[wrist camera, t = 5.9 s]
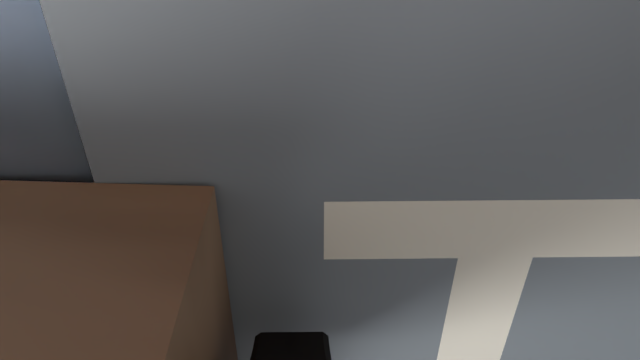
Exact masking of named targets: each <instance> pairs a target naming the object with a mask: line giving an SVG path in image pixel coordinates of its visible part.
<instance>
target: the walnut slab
mask: <svg viewBox="0 0 640 360" xmlns="http://www.w3.org/2000/svg"><path fill="white" fill-rule="evenodd" d="M0 360H238V357H237V350H236V343H235V335H234V328H233V321H232V313H231V306H230V299H229V291H228V284H227V277H226V269H225V262H224V255H223V247H222V240H221V232H220V225H219V218H218V210H217V203H216V196H215V188H214V186H188V185H153V184H117V183H81V182H45V181H9V180H0Z"/></svg>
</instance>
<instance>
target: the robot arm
mask: <svg viewBox="0 0 640 360" xmlns="http://www.w3.org/2000/svg"><path fill="white" fill-rule="evenodd" d="M250 360H331V354H330V347H329V337H328V335H327V334H325V333H324V332H261V333H259V334H258V335H256V336H255V340H254V345H253V350H252V354H251V358H250Z"/></svg>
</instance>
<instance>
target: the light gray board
mask: <svg viewBox="0 0 640 360" xmlns="http://www.w3.org/2000/svg"><path fill="white" fill-rule="evenodd" d="M39 2H40V5H41V8H42V12H43V15H44V18H45V21H46V25H47V28H48V31H49V35H50V38H51V41H52V45H53V48H54V51H55V54H56V58H57V61H58V64H59V68H60V71H61V74H62V77H63V81H64V84H65V87H66V91H67V94H68V97H69V101H70V104H71V107H72V110H73V114H74V117H75V120H76V124H77V127H78V130H79V134H80V137H81V140H82V143H83V147H84V150H85V153H86V157H87V160H88V163H89V167H90V170H91V173H92V176H93V180H94V183H117V184H153V185H188V186H214V188H215V196H216V203H217V210H218V218H219V225H220V232H221V240H222V247H223V255H224V262H225V269H226V277H227V284H228V291H229V299H230V306H231V313H232V321H233V328H234V335H235V343H236V350H237V357H238V360H250V358H251V354H252V350H253V345H254V340H255V336H256V335H258V334H259V333H261V332H324V333H325V334H327V335H328V337H329V347H330V354H331V360H640V0H39Z"/></svg>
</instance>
